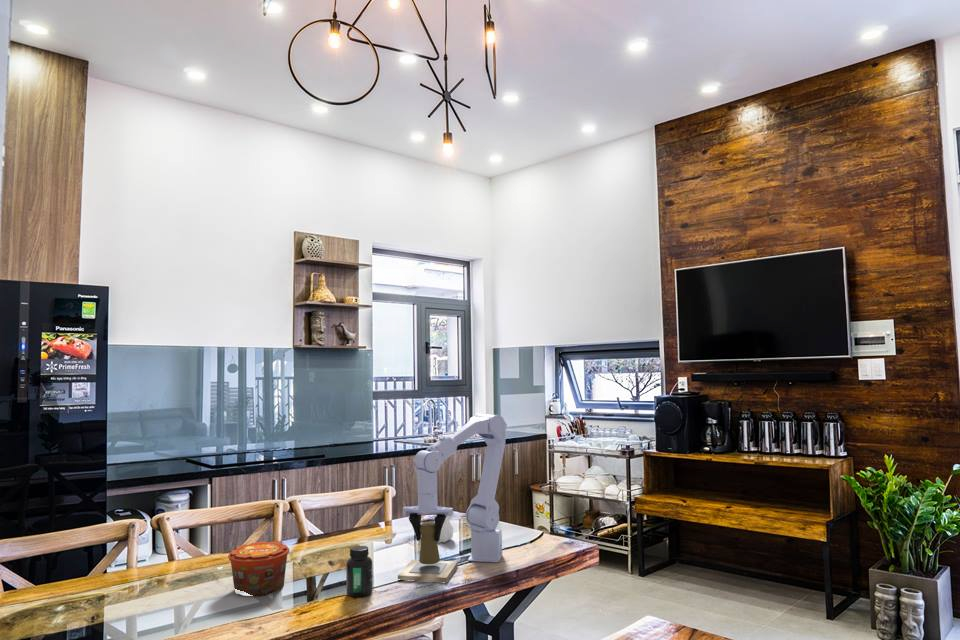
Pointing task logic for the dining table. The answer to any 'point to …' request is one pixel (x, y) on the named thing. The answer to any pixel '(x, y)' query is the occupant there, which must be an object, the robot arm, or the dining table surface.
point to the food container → (259, 567)
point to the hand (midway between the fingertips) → (428, 540)
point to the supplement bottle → (359, 573)
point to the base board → (428, 571)
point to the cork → (428, 544)
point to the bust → (446, 530)
